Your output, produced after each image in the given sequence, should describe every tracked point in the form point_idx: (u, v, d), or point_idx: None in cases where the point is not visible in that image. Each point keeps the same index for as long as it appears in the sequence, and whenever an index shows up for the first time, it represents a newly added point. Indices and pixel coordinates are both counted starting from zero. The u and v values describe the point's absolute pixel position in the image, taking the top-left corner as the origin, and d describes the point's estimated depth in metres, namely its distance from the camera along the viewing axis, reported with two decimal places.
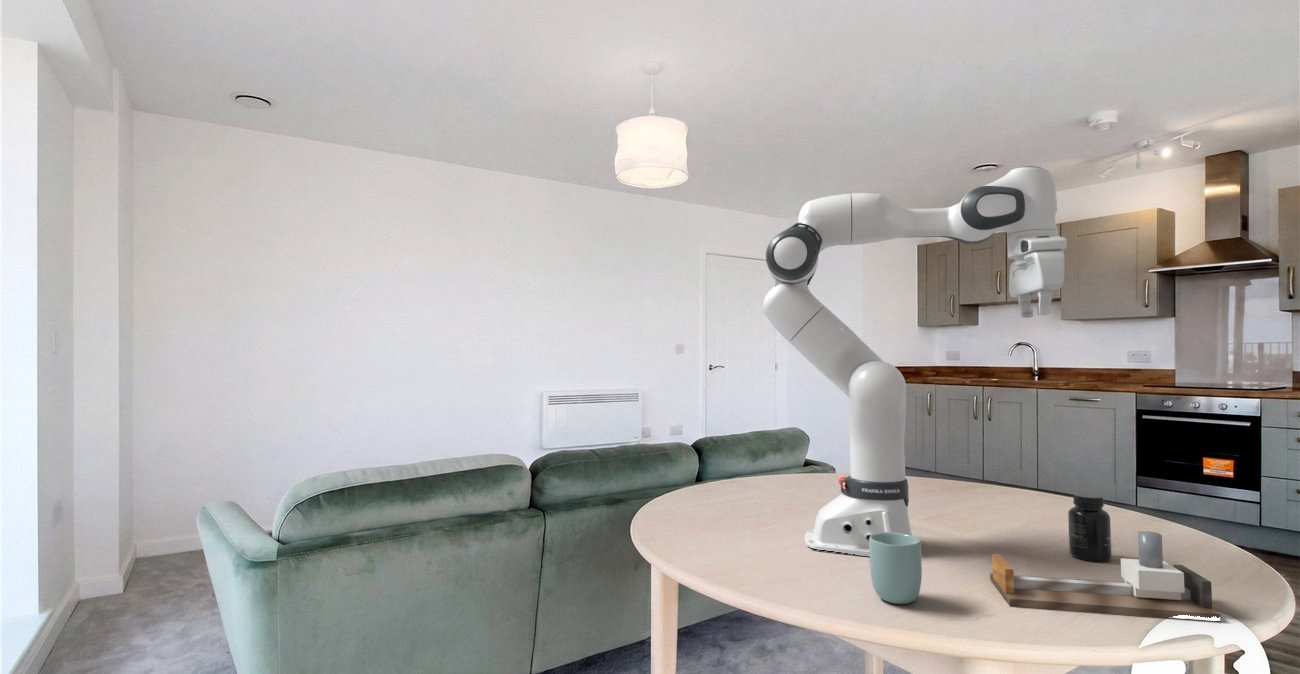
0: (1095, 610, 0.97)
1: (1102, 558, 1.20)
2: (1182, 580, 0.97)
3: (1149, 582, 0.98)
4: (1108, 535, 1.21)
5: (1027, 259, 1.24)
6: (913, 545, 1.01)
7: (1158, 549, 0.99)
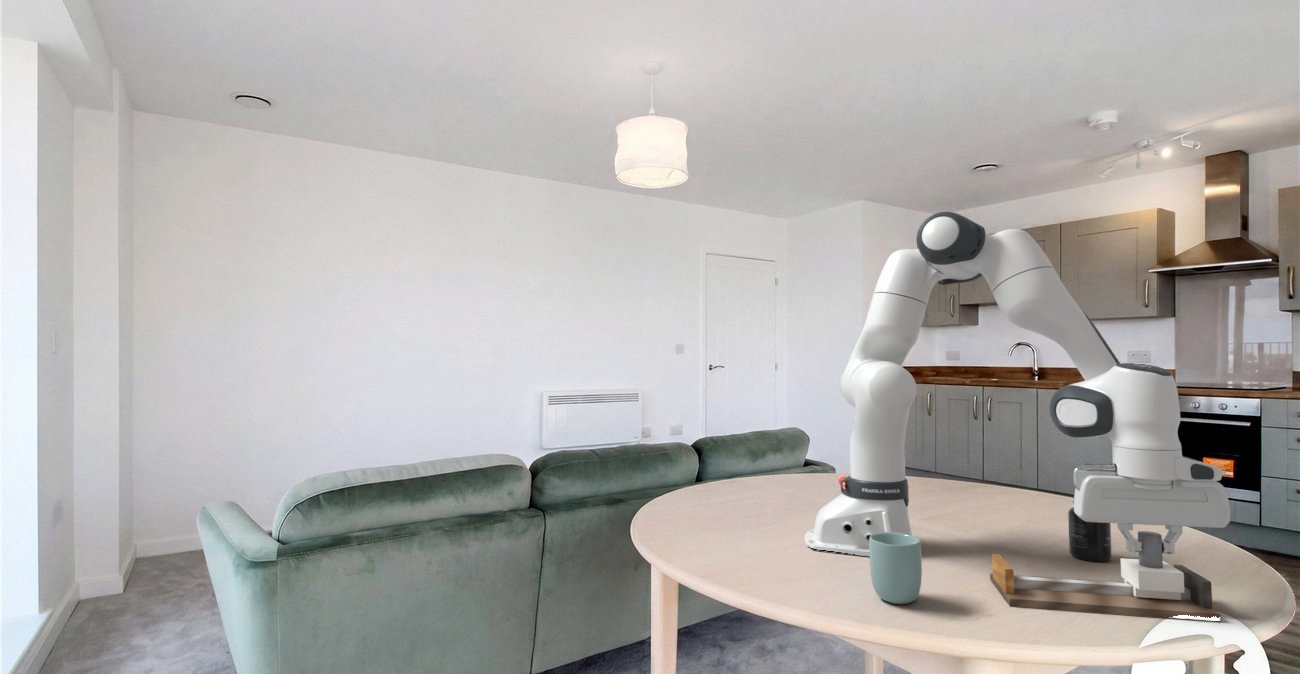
0: (1095, 610, 0.97)
1: (1102, 558, 1.20)
2: (1182, 580, 0.97)
3: (1148, 582, 0.98)
4: (1108, 535, 1.21)
5: (1188, 487, 0.98)
6: (913, 545, 1.01)
7: (1158, 549, 0.99)
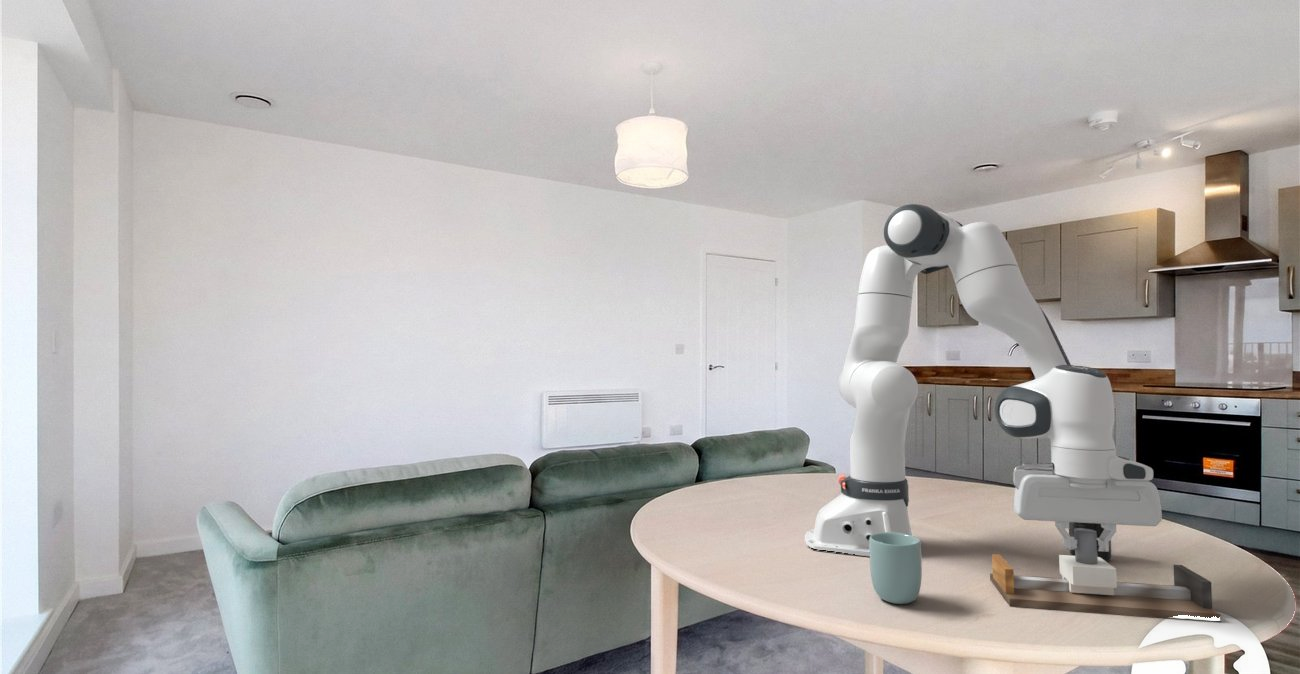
0: (1095, 610, 0.97)
1: (1102, 558, 1.20)
2: (1114, 576, 0.99)
3: (1082, 577, 1.01)
4: None
5: (1121, 486, 1.00)
6: (913, 545, 1.01)
7: (1093, 545, 1.02)
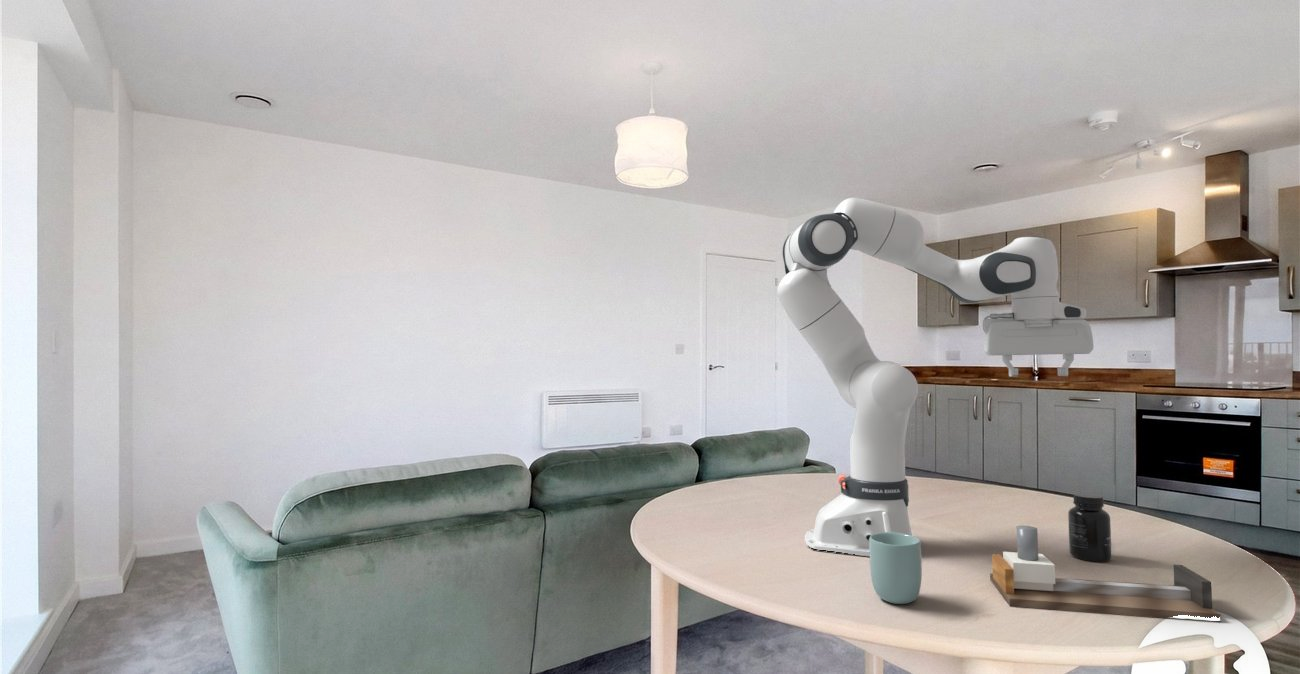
0: (1095, 610, 0.97)
1: (1102, 558, 1.20)
2: (1053, 572, 1.02)
3: (1023, 573, 1.03)
4: (1108, 535, 1.21)
5: (1063, 324, 1.33)
6: (913, 545, 1.01)
7: (1033, 542, 1.04)
